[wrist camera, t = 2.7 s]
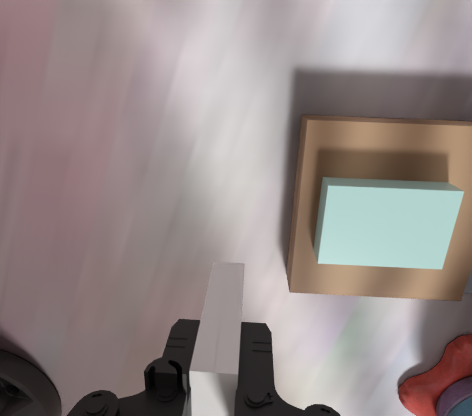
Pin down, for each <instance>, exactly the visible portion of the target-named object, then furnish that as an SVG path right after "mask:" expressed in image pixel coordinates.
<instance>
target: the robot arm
mask: <svg viewBox="0 0 472 416" xmlns="http://www.w3.org/2000/svg"><path fill="white" fill-rule="evenodd" d="M243 284H244V264H243V263H225V262H213V266H212V270H211V275H210V280H209V284H208V289H207V293H206V298H205V302H204V307H203V311H202V316H201V320H188V319H179V320H178V321H177V322H176V323H175V324H174V325H173V326H172V328H171V331H170V334H169V337H168V340H167V343H166V347H165V349H164V353H163V356H162V357H161V358H159V359H156V360H154V361H153V362H151V363H150V364H149V365H148V366H147V367H146V369H145V371H144V378H145V389H146V390H144V391H143V392H141V393H139V394H136V395H133V396H129V397H125V398H120V399H118V398H117V397H116V395H115V394H114V393H112V392H110V391H105V390H99V391H95V392H92V393H90V394H88V395H86V396H84V397H83V398H82V399H81V400H80V401H79V402H78V403H77V404H76V405H75V406H74V407H73V409H72V410H71V411H70V412H69V414H68V415H67V416H340V414H339V413H338V412H336V411H335V410H334V409H332V408H331V407H328V406H326V405H323V404H314V405H311V406H308V407H307V408H306V409H305V410H302V409H299V408H297V407H294V406H292V405H290V404H288V403H286V402H285V401H284V400H282V399H281V397H280V396H279V395H278V394H277V392H276V390H275V385H274V371H273V354H272V337H271V331H270V330H269V328H268V326H267V325H266V323H251V322H242V306H243ZM0 416H61V403H60V399H59V396H58V394H57V392H56V390H55V388H54V387H53V385H52V384H51V383H50V381H49V380H48V379H47V378H46V377H45V376H44V375H43V374H42V373H41V372H40V371H39V370H38V369H36V368H35V367H34V366H32V365H31V364H29V363H28V362H26V361H25V360H23V359H21V358H19V357H17V356H15V355H12V354H10V353H7V352H5V351H1V350H0Z"/></svg>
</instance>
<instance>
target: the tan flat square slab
mask: <svg viewBox="0 0 472 416" xmlns="http://www.w3.org/2000/svg"><path fill="white" fill-rule="evenodd" d="M323 177H331V178H355V179H378V180H402V181H426V182H449V183H450V184H452V185H454V186H456V187H457V188H459V189H461V190H463V191H464V194H463V198H462V201H461V205H460V208H459V212H458V215H457V219H456V222H455V226H454V229H453V233H452V236H451V240H450V243H449V247H448V250H447V254H446V257H445V261H444V264H443V268H442V270H441V269H421V268H400V267H379V266H359V265H338V264H318V263H317V260H316V257H315V254H314V251H313V249H314V241H315V233H316V225H317V217H318V209H319V202H320V194H321V186H322V178H323ZM471 268H472V121H454V120H428V119H401V118H375V117H348V116H321V115H302V118H301V128H300V138H299V149H298V159H297V169H296V179H295V189H294V200H293V210H292V220H291V230H290V240H289V251H288V261H287V271H286V274H287V280H288V286H289V291H290V292H293V293H312V294H332V295H352V296H372V297H392V298H411V299H431V300H451V301H461V299H462V296H463V293H464V290H465V287H466V284H467V281H468V277H469V274H470V271H471Z"/></svg>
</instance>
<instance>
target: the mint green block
mask: <svg viewBox="0 0 472 416" xmlns="http://www.w3.org/2000/svg"><path fill="white" fill-rule="evenodd" d="M463 194H464V191H463V190H461V189H459V188H457V187H456V186H454V185H452V184H450V183H449V182H426V181H402V180H378V179H355V178H331V177H323V178H322V186H321V194H320V202H319V209H318V217H317V225H316V233H315V241H314V249H313V251H314V254H315V257H316V260H317V263H318V264H338V265H359V266H379V267H400V268H421V269H441V270H442V268H443V264H444V261H445V257H446V254H447V250H448V247H449V243H450V240H451V236H452V233H453V229H454V226H455V222H456V219H457V215H458V212H459V208H460V205H461V201H462V198H463Z"/></svg>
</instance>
